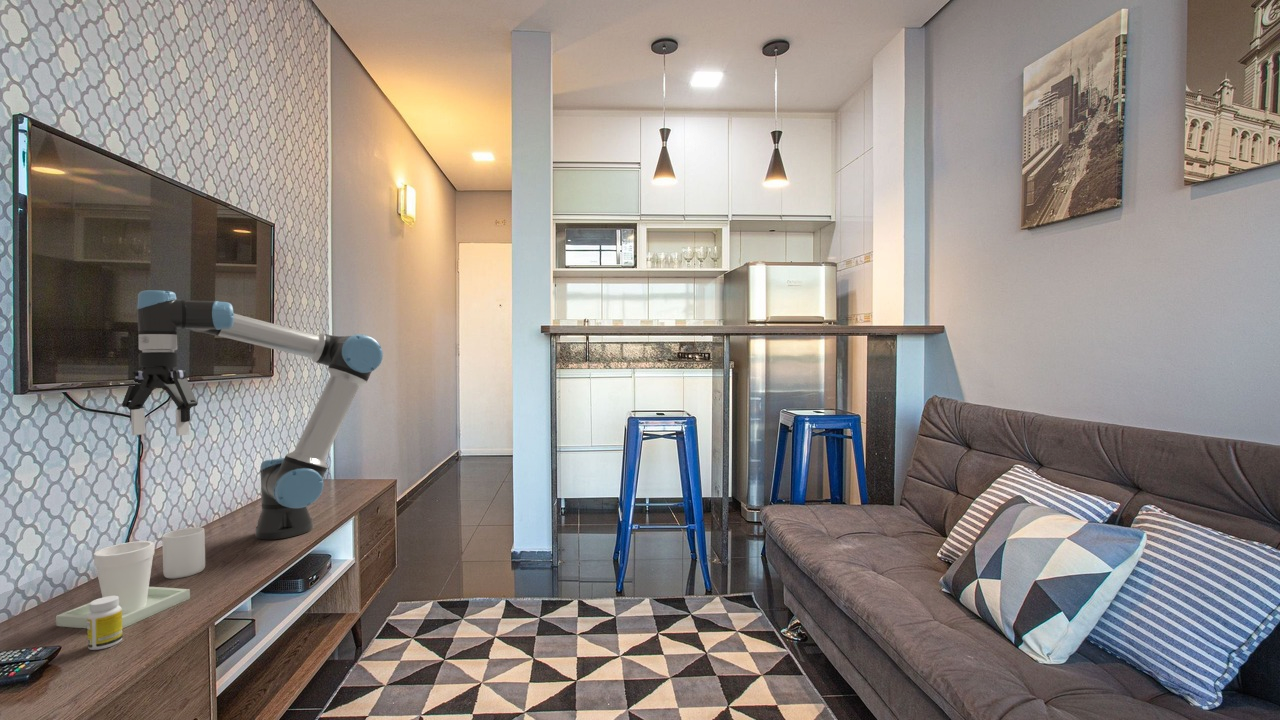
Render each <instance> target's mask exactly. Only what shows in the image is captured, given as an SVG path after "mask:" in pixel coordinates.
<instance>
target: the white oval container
mask: <svg viewBox="0 0 1280 720" xmlns="http://www.w3.org/2000/svg"><path fill="white" fill-rule="evenodd" d="M205 533H206V532H205V528H204V527H197V526H196V527H193V526H192V527H185V528H180V529H175V530H171V531H168V532H166V533H164V534H162V536H161V538H162V541H161V542H162V543H161V545H162V572H163V573H162V575H163V576H164V578H166V579H171V580H172V579H175V580H176V579H181V578H182V579H183V578H187V577H191V576H194V575H197V574H199V573H201V572H202V571H204V570H205V568H206V538H205V537H206V536H205Z"/></svg>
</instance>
